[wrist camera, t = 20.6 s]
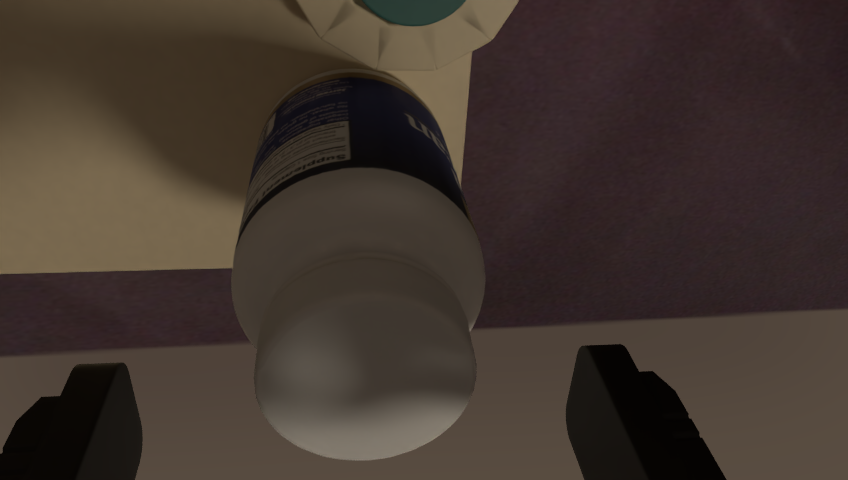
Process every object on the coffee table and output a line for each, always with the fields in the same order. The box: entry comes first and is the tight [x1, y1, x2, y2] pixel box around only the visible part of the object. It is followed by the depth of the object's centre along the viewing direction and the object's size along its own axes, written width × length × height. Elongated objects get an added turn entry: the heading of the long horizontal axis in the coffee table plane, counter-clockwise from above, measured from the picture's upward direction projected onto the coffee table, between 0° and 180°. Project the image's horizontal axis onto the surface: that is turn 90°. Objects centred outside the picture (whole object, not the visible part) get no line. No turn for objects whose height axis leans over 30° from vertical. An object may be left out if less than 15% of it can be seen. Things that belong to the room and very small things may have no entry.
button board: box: [0, 0, 519, 274], centre depth 19 cm, size 13×19×3 cm
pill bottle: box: [231, 69, 485, 460], centre depth 16 cm, size 5×5×10 cm
